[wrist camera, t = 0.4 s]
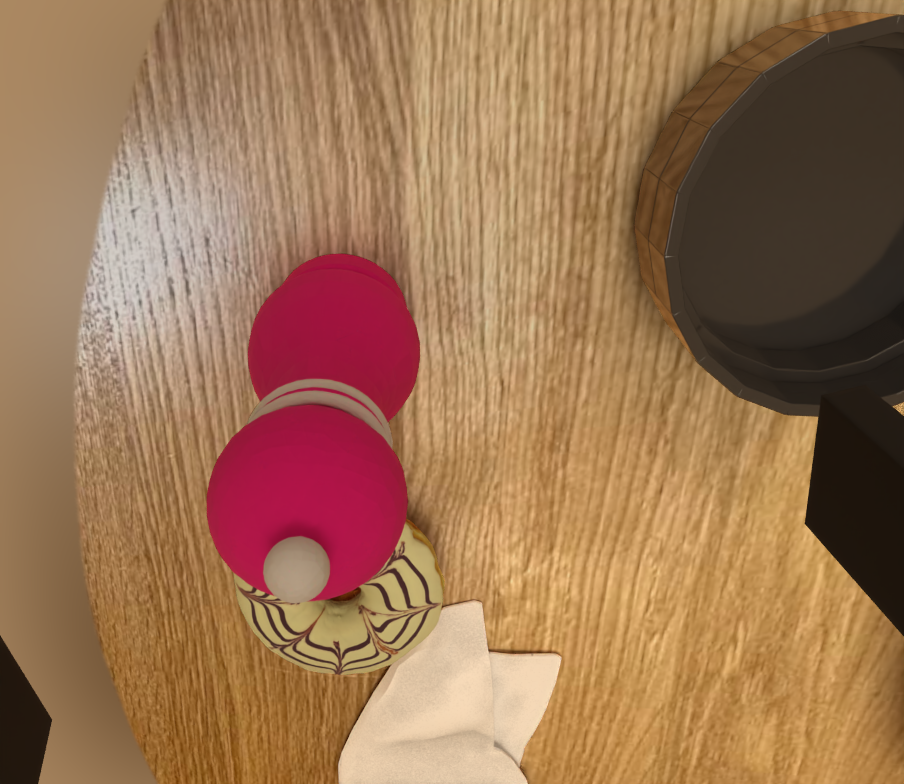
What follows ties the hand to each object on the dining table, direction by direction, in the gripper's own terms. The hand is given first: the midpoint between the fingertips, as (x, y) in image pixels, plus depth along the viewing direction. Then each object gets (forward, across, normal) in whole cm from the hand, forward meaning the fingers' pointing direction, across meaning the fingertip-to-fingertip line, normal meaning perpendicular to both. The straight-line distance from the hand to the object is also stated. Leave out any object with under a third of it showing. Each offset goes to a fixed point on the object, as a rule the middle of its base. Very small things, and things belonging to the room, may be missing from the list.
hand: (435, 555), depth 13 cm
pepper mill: (+27, 0, -9) cm, 28 cm away
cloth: (+23, 0, -39) cm, 45 cm away
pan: (+23, +21, -7) cm, 32 cm away
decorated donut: (+25, -3, -22) cm, 34 cm away
